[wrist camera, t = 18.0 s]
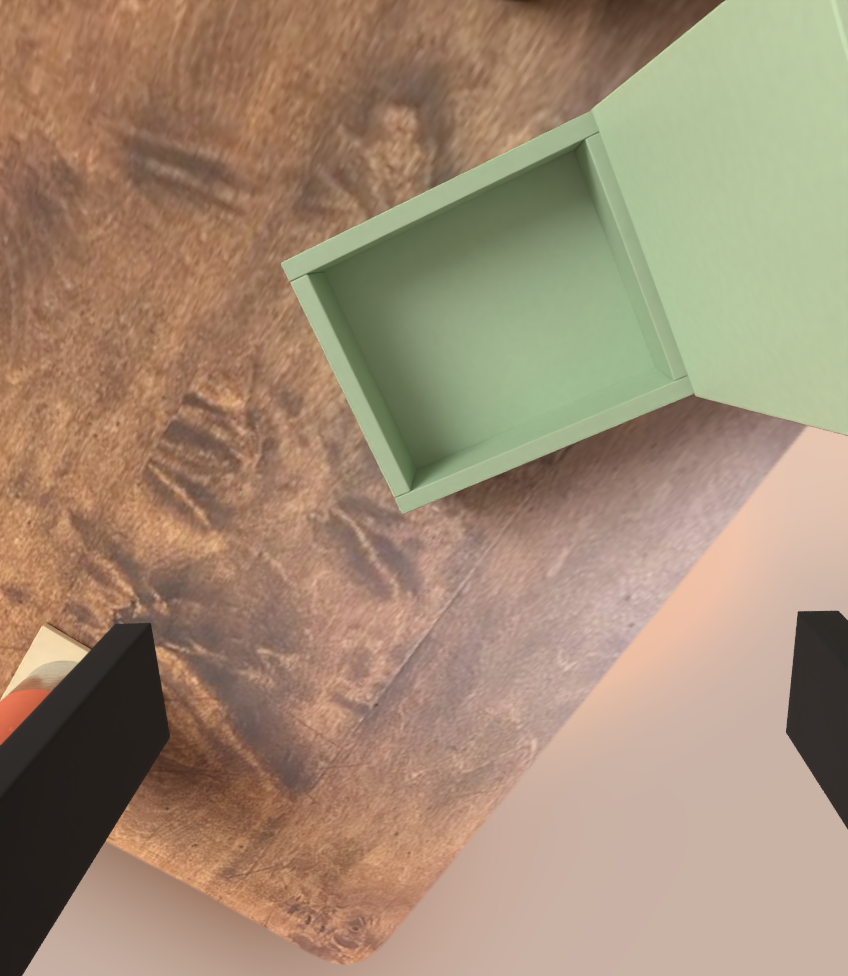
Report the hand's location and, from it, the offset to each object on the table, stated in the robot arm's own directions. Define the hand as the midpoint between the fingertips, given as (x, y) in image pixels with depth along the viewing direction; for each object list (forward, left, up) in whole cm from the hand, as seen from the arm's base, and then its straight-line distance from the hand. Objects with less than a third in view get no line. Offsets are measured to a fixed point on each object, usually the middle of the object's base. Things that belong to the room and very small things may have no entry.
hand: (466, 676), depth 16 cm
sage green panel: (+4, -11, -13) cm, 18 cm away
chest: (+4, -3, -26) cm, 27 cm away
